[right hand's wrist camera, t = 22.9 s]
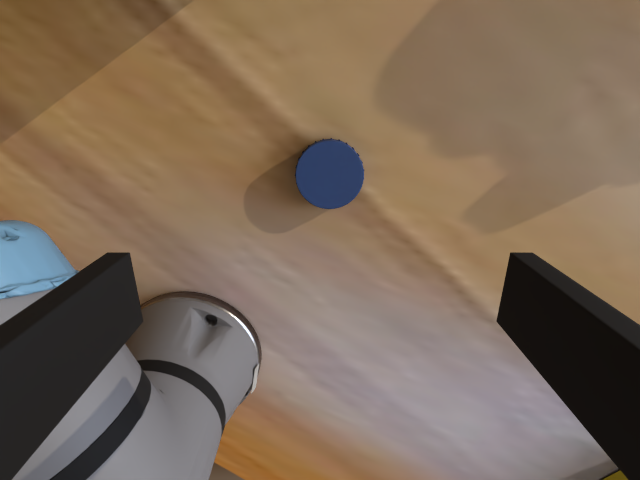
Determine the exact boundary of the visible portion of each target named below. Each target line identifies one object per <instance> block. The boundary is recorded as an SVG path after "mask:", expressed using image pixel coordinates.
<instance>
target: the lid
mask: <svg viewBox="0 0 640 480" xmlns="http://www.w3.org/2000/svg"><path fill="white" fill-rule="evenodd" d="M295 176H296V184H297V186H298V189H299V191H300V193H301V194H302V195H303V197H304V198H305V199H306V200H307V201H308V202H310V203H311V204H313V205H315V206H317V207H320V208H325V209H335V208H339V207H342V206H344V205H346V204H348V203H349V202H351V201H352V200H353V199H354V198H355V197H356V196H357V194H358V193H359V191H360V189H361V187H362V184H363V179H364V169H363V165H362V161H361V160H360V158H359V155H358V153H356V152H355V151H354V148H353V147H352V148H351V147H350V146H349V145H348V144H347V143H344V142H342V141H340V140H334V139H332V138H331V139H325V140H324V139H323V140H320V141H318V142H316V141H315V143H313V144H312V145H310V146H308V148H307V149H306V150H305V151H303V152H302V155H301V157H300V158H299V159H298V164H297V166H296V174H295Z"/></svg>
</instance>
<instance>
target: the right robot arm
mask: <svg viewBox="0 0 640 480" xmlns="http://www.w3.org/2000/svg"><path fill="white" fill-rule="evenodd" d="M497 322H498V324H499V325H500V326H501V327H502V328H503V330H504V331H505V332H506V333H507V335H508V336H509V337H510V338H511V339H512V341H513V342H514V343H515V344H516V345H517V347H518V348H519V349H520V350H521V351H522V353H523V354H524V355H525V356H526V357H527V359H528V360H529V361H530V362H531V363H532V365H533V366H534V367H535V368H536V369H537V371H538V372H539V373H540V374H541V375H542V377H543V378H544V379H545V380H546V381H547V383H548V384H549V385H550V386H551V387H552V389H553V390H554V391H555V392H556V393H557V395H558V396H559V397H560V398H561V399H562V401H563V402H564V403H565V404H566V405H567V407H568V408H569V409H570V410H571V411H572V413H573V414H574V415H575V416H576V417H577V419H578V420H579V421H580V422H581V423H582V425H583V426H584V427H585V428H586V430H587V431H588V432H589V433H590V434H591V436H592V437H593V438H594V439H595V440H596V442H597V443H598V444H599V445H600V446H601V448H602V449H603V450H604V451H605V452H606V454H607V455H608V456H609V457H610V458H611V460H612V461H613V462H614V463H615V464H616V466H617V467H618V468H619V469H620V470H621V472H622V473H623V474H624V475H625V476H626V478H627V479H628V480H640V325H639V324H637V323H636V322H634V321H633V320H631V319H630V318H628V317H627V316H626V315H624V314H623V313H621V312H620V311H618V310H617V309H615V308H614V307H612V306H611V305H609V304H608V303H606V302H605V301H603V300H602V299H600V298H599V297H597V296H596V295H594V294H593V293H591V292H590V291H589V290H587V289H586V288H584V287H583V286H581V285H580V284H578V283H577V282H575V281H574V280H572V279H571V278H569V277H568V276H566V275H565V274H563V273H562V272H560V271H559V270H557V269H556V268H554V267H553V266H552V265H550V264H549V263H547V262H546V261H544V260H543V259H541V258H540V257H538V256H537V255H535V254H534V253H510V257H509V262H508V267H507V272H506V277H505V282H504V287H503V292H502V297H501V302H500V307H499V312H498V317H497ZM260 364H261V346H260V342H259V339H258V336H257V334H256V332H255V330H254V329H253V327H252V325H251V324H250V323H249V321H248V320H247V319H246V318H245V317H244V316H243V315H242V314H241V313H240V312H239V311H238V310H236V309H235V308H234V307H232V306H231V305H229V304H228V303H226V302H224V301H222V300H220V299H218V298H215V297H212V296H209V295H206V294H202V293H196V292H172V293H167V294H163V295H160V296H158V297H155V298H153V299H151V300H149V301H147V302H146V303H145V304H143V305H142V306H141V307H140V302H139V297H138V292H137V287H136V282H135V277H134V272H133V267H132V262H131V257H130V253H106V254H105V255H103V256H102V257H100V258H99V259H97V260H96V261H94V262H93V263H91V264H90V265H88V266H87V267H86V268H84V269H83V270H81V271H78V270H75V269H74V268H73V267H72V266H71V264H70V263H69V262H68V260H67V259H66V258H65V256H64V255H63V254H62V253H61V251H60V250H59V249H58V247H57V246H56V245H55V243H54V242H53V241H52V240H51V238H50V237H49V236H48V235H47V234H46V233H45V232H44V231H43V230H42V229H40V228H39V227H37V226H35V225H33V224H30V223H27V222H23V221H17V220H4V221H0V480H209V476H210V473H211V470H212V466H213V463H214V460H215V456H216V453H217V450H218V446H219V443H220V440H221V436H222V433H223V430H224V427H225V424H226V423H227V422H228V420H229V419H230V418H231V416H232V415H233V413H234V411H235V409H236V408H237V406H238V405H240V404H241V403H242V402H243V401H244V399H245V398H246V397H247V396H248V394H249V393H250V391H251V390H252V392H253V391H254V389H255V388H256V382H257V376H258V372H259V368H260ZM251 394H252V393H251Z"/></svg>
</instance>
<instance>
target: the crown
mask: <svg viewBox="0 0 640 480" xmlns="http://www.w3.org/2000/svg"><path fill="white" fill-rule="evenodd" d="M603 480H628V479H627V478H626V476H625V475H624V474H623V473H622V472H621V470H620V471H618V472H616V473H614V474H612V475H611V476H609V477H607V478H605V479H603Z"/></svg>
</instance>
